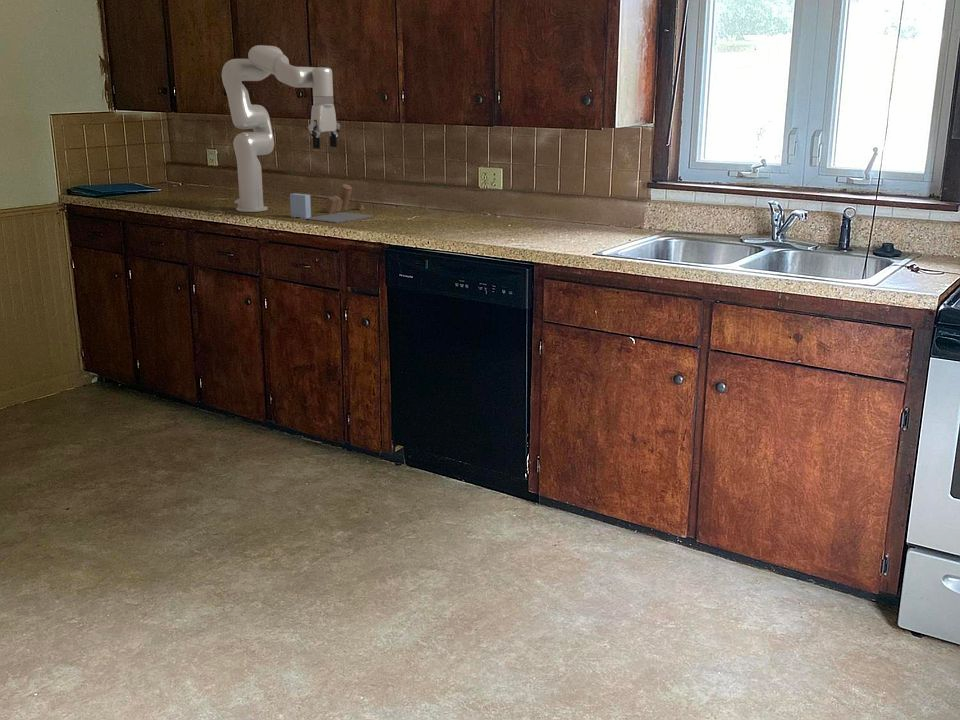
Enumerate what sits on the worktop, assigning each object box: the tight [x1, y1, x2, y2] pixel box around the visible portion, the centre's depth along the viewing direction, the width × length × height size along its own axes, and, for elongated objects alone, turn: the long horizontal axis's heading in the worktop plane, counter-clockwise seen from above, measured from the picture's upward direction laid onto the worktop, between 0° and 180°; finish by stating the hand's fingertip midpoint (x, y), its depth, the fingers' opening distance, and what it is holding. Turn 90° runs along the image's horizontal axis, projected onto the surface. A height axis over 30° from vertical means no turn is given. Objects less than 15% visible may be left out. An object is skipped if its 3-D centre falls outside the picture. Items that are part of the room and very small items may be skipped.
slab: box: [289, 192, 312, 219], centre depth 376 cm, size 8×3×9 cm, turn 58°
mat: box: [304, 211, 374, 224], centre depth 375 cm, size 16×22×1 cm
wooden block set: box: [324, 183, 366, 214], centre depth 395 cm, size 18×9×10 cm, turn 138°
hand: (325, 147), depth 365 cm, fingers open, 9 cm apart
